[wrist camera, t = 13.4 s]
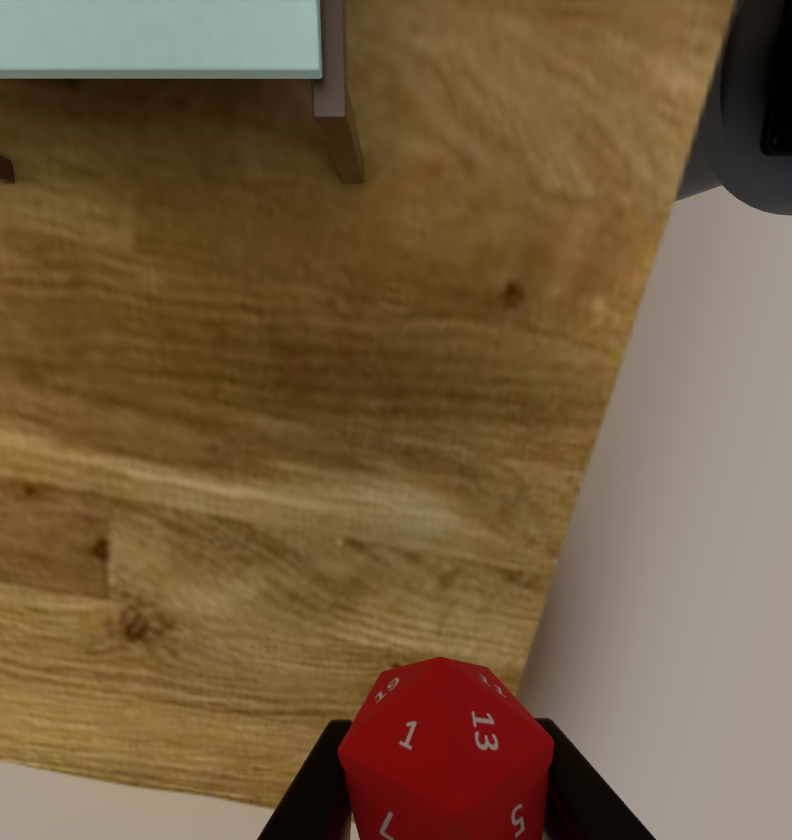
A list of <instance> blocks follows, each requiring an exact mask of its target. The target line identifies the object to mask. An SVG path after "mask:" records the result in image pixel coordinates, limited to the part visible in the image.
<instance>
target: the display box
mask: <svg viewBox="0 0 792 840" xmlns="http://www.w3.org/2000/svg"><path fill="white" fill-rule="evenodd" d="M320 19H321V48H322V78H321V79H311V80H312V105H313V117H314V120H315V122H316V124H319V126H320V129H321V131H322V133H323V136H324V138H325V140H326V143H327V145H328V147H329V150H330V152H331V155H332V157H333V159H334V162H335V164H336V166H337V169H338V171H339V173H340V176H341V178H342V180H343V183H363V182H364V162H363V157H362V152H361V148H360V143H359V138H358V133H357V129H356V124H355V119H354V115H353V110H352V105H351V101H350V96H349V91H348V87H347V50H346V8H345V0H320ZM0 183H14V179H13V174H12V168H11V163H10V161H9V160H7V159H4V158H1V157H0Z"/></svg>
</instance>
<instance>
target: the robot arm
mask: <svg viewBox="0 0 792 840" xmlns="http://www.w3.org/2000/svg"><path fill="white" fill-rule="evenodd" d="M767 95H768V100H767V106H766V112H765V118H764V123H763V129H762V135H761V141H760V149H761V151H762V153H763V154H764V155H766V156H792V0H784V6H783V12H782V18H781V24H780V26H779V29H778V34H777V40H776V46H775V52H774V57H773V63H772V69H771V75H770V81H769V87H768V93H767ZM774 137H776V138H777V140H778V144H777V147H776V146H775V145H774V144H773V139H774ZM534 719H535V720H536V721H537V722H538V723H539V724H540V725H541V726H542V727H543V728H544V729H545V731H546V732H547V733H548V734H549V735H550V736H551V737H552V739H553V741H554V750H553V758H552V763H551V765H550V766H549V769H548V780H549V789H548V796H547V804H546V812H545V820H544V827H543V835H542V840H656V839H655V838H654V837H653V836H652V834H651V833H650V832H649V831H648V830H647V829H646V827H645V826H644V825H643V824H642V823H641V822H640V821H639V819H638V818H637V817H636V816H635V815H634V814H633V813H632V812H631V810H630V809H629V808H628V807H627V806H626V805H625V804H624V802H623V801H622V800H621V799H620V798H619V796H618V795H617V794H616V793H615V792H614V791H613V790H612V788H611V787H610V786H609V785H608V784H607V783H606V782H605V781H604V779H603V778H602V777H601V776H600V775H599V773H598V772H597V771H596V770H595V769H594V768H593V767H592V765H591V764H590V763H589V762H588V761H587V760H586V759H585V757H584V756H583V755H582V754H581V753H580V752H579V750H578V749H577V748H576V747H575V746H574V745H573V743H572V742H571V741H570V740H569V739H568V738H567V737H566V735H564V733H563V732H562V731H561V730H560V729H559V727H558V726H557V725H556V724H555V723H554V722H553V721H552V720H550V719H549V718H534ZM351 725H352V721H351V720H331V721H330V722H329V723H328V725H327V726H326V728H325V729H324V731H323V733H322V734H321V736H320V738H319V739H318V741H317V742H316V744H315V746H314V747H313V749H312V751H311V752H310V754H309V756H308V757H307V759H306V760H305V762H304V764H303V765H302V767H301V769H300V770H299V772H298V774H297V775H296V777H295V778H294V780H293V782H292V783H291V785H290V787H289V788H288V790H287V791H286V793H285V795H284V796H283V798H282V800H281V801H280V803H279V805H278V806H277V808H276V809H275V811H274V813H273V814H272V816H271V818H270V819H269V821H268V822H267V824H266V826H265V828H264V829H263V831H262V832H261V834H260V836H259V837H258V839H257V840H350V829H351V814H352V808H351V804H350V800H349V795H348V791H347V787H346V780H345V770H344V768H343V767H342V765H341V764H340V760H339V757H338V748H339V746H340V744H341V742H342V740H343V739H344V737H345V735H346V733H347V732H348V730H349V728H350V726H351Z"/></svg>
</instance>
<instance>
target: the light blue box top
mask: <svg viewBox="0 0 792 840" xmlns="http://www.w3.org/2000/svg"><path fill="white" fill-rule="evenodd" d="M0 78H32V79H321V78H322V48H321V19H320V0H0Z"/></svg>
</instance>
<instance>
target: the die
mask: <svg viewBox="0 0 792 840" xmlns="http://www.w3.org/2000/svg"><path fill="white" fill-rule="evenodd" d="M553 750H554V741H553V739H552V737H551V736H550V735H549V734H548V733H547V732H546V731H545V729H544V728H543V727H542V726H541V725H540V724H539V723H538V722H537V721H536V720H535V719H534V718H533V716H532V715H531V714H530V713H529V712H528V711H527V710H526V709H525V708H524V707H523V706H522V705H521V703H520V702H519V701H518V700H517V699H516V698H515V697H514V696H513V695H512V694H511V693H510V691H509V690H508V689H507V688H506V687H505V686H504V685H503V684H502V683H501V682H500V681H499V679H498V678H497V677H496V676H495V675H494V674H493V673H492V672H491V671H490V670H489V669H488V668H487V667H484V666H479V665H475V664H470V663H466V662H461V661H457V660H452V659H448V658H443V657H437V658H433V659H429V660H425V661H421V662H418V663H414V664H410V665H406V666H402V667H398V668H394V669H390V670H386V671H383V672H382V673H381V674H380V676H379V677H378V679H377V681H376V683H375V684H374V686H373V688H372V690H371V691H370V693H369V695H368V697H367V698H366V700H365V702H364V704H363V705H362V707H361V709H360V711H359V712H358V714H357V716H356V718H355V719H354V721H353V723H352V725H351V726H350V728H349V730H348V732H347V733H346V735H345V737H344V739H343V740H342V742H341V744H340V746H339V748H338V757H339V760H340V764H341V765H342V767H343V768H344V770H345V780H346V787H347V791H348V795H349V800H350V804H351V808H352V812H353V816H354V820H355V823H356V827H357V831H358V834H359V838H360V840H542V835H543V827H544V820H545V812H546V804H547V796H548V789H549V780H548V769H549V766H550V765H551V763H552V758H553Z"/></svg>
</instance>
